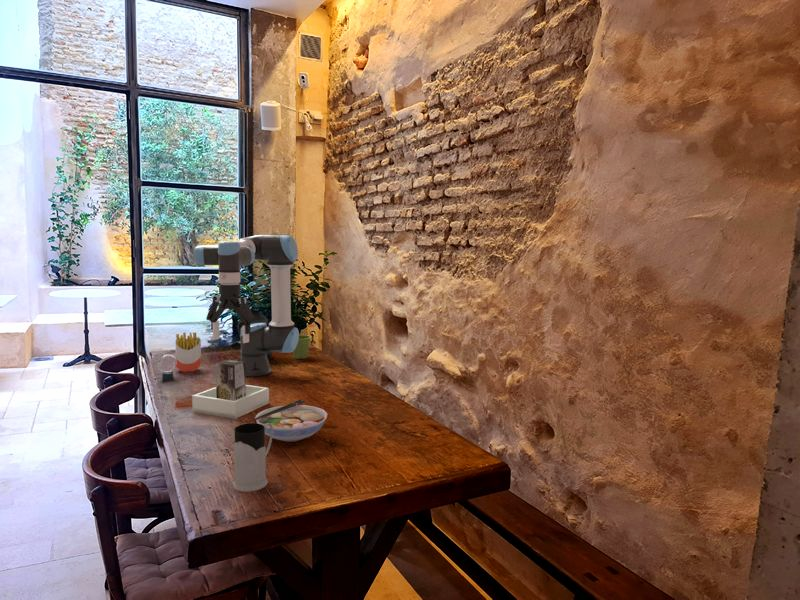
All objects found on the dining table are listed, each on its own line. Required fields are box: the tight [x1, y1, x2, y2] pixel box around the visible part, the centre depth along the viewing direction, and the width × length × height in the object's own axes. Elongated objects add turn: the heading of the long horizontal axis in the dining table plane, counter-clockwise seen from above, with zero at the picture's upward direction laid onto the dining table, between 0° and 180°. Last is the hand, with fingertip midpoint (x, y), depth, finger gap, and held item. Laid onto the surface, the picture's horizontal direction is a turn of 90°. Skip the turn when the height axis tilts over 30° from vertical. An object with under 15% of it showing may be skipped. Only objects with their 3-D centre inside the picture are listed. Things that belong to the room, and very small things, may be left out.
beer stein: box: [237, 310, 273, 361], centre depth 281 cm, size 16×19×25 cm
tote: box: [191, 384, 270, 420], centre depth 201 cm, size 19×20×6 cm
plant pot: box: [292, 334, 312, 360], centre depth 285 cm, size 12×12×11 cm
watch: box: [156, 354, 177, 382], centre depth 238 cm, size 6×8×11 cm
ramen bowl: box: [247, 399, 329, 443], centre depth 171 cm, size 25×23×8 cm
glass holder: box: [232, 422, 273, 492], centre depth 141 cm, size 9×14×15 cm, turn 159°
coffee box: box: [214, 359, 247, 401], centre depth 200 cm, size 9×6×16 cm
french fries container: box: [175, 331, 202, 373], centre depth 253 cm, size 5×11×18 cm, turn 105°
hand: (230, 340), depth 198 cm, fingers open, 13 cm apart
